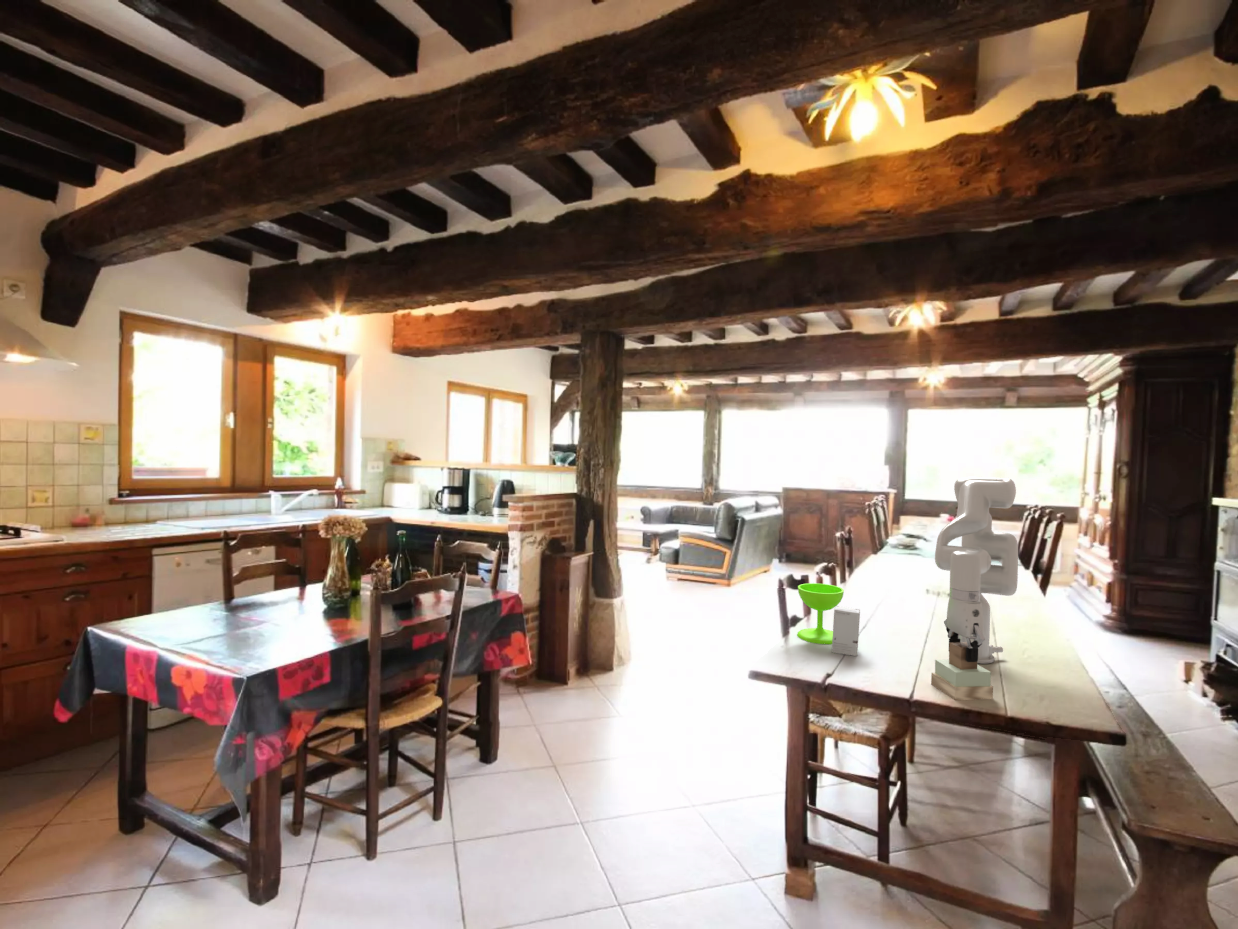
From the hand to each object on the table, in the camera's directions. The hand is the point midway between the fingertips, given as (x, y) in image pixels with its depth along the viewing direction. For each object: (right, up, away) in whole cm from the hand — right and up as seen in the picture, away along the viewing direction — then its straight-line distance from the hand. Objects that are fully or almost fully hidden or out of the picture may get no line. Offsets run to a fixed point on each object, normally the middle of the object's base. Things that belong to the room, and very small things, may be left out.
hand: (962, 656), depth 170 cm
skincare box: (-21, -9, +32) cm, 40 cm away
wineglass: (-25, -9, +48) cm, 55 cm away
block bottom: (0, -11, +1) cm, 11 cm away
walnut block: (0, -3, 0) cm, 3 cm away
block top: (0, -7, 0) cm, 7 cm away
